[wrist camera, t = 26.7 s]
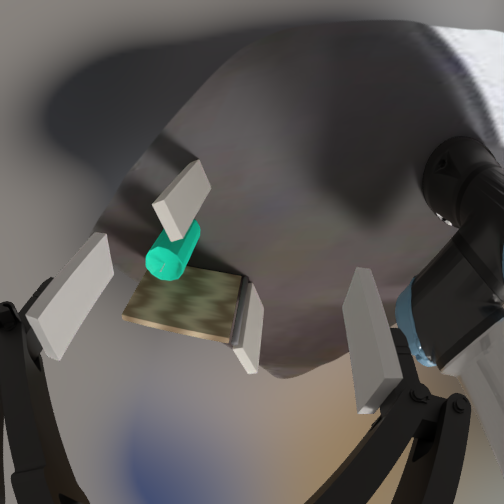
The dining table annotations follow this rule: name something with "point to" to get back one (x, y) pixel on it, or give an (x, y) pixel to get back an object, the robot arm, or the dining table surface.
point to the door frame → (176, 225)
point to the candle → (172, 254)
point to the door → (187, 303)
